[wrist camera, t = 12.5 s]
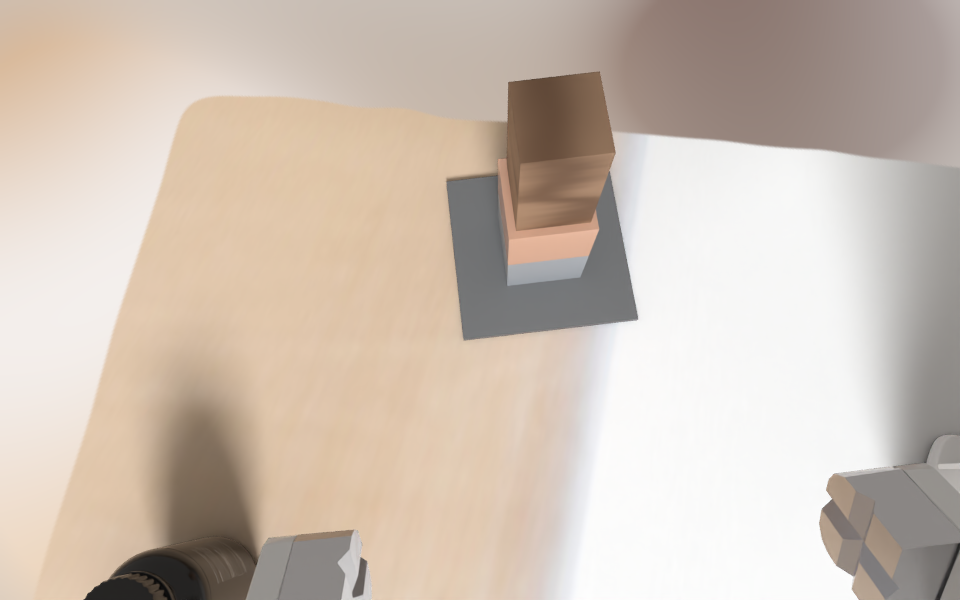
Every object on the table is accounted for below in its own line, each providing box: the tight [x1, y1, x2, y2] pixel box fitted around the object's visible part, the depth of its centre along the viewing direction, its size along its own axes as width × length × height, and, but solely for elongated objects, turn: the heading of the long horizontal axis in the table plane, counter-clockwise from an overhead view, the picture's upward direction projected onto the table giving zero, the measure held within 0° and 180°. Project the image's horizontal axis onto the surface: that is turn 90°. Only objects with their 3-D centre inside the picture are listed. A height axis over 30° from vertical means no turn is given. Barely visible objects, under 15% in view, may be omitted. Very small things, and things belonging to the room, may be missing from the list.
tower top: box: [498, 158, 599, 265], centre depth 44 cm, size 6×6×5 cm
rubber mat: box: [447, 171, 638, 340], centre depth 51 cm, size 14×14×1 cm
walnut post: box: [507, 72, 616, 231], centre depth 37 cm, size 5×5×9 cm
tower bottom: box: [498, 195, 588, 286], centre depth 49 cm, size 6×6×5 cm
